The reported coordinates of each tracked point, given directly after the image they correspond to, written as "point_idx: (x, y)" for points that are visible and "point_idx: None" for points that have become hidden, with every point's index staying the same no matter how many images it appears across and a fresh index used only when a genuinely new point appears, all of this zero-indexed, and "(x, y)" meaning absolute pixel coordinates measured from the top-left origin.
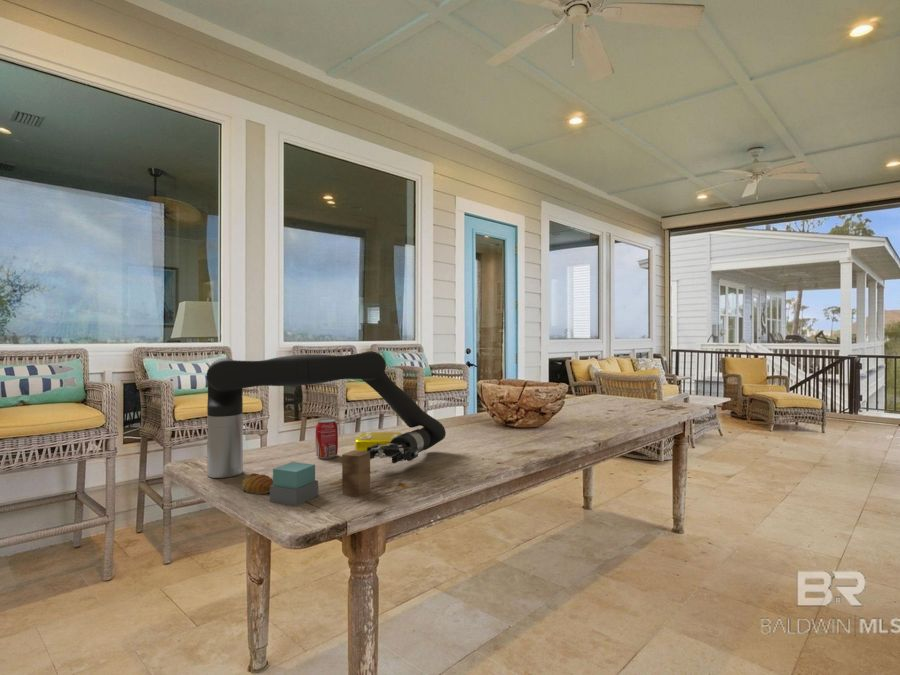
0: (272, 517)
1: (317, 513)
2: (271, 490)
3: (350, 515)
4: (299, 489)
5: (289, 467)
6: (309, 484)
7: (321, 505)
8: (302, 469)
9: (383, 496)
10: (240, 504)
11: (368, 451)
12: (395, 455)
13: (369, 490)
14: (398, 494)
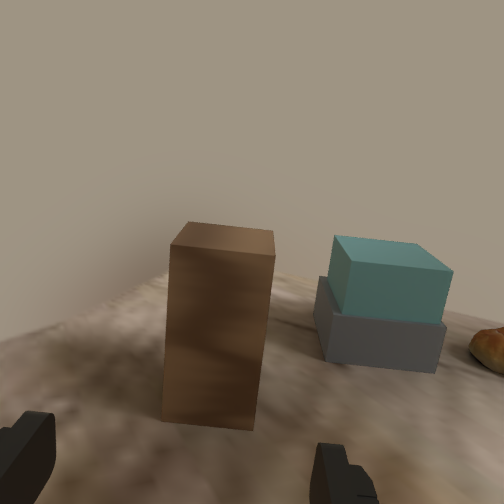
0: (303, 283)
1: None
2: None
3: (146, 295)
4: (320, 282)
5: (391, 248)
6: (326, 297)
7: None
8: (339, 242)
9: (80, 384)
10: None
11: (344, 475)
12: (16, 426)
13: (162, 414)
14: (9, 409)
